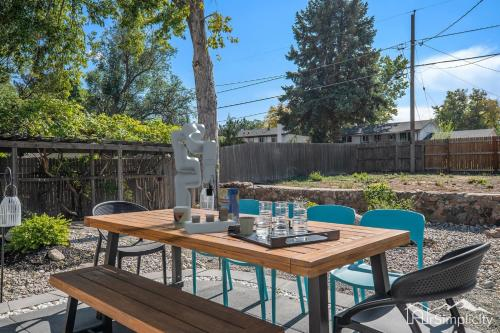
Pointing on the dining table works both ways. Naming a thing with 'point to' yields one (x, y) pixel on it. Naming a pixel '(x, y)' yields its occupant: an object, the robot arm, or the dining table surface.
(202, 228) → the socket board
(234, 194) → the beverage box
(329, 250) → the dining table surface
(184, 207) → the coffee cup
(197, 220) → the plug left
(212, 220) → the plug middle
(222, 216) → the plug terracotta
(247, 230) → the flower pot
